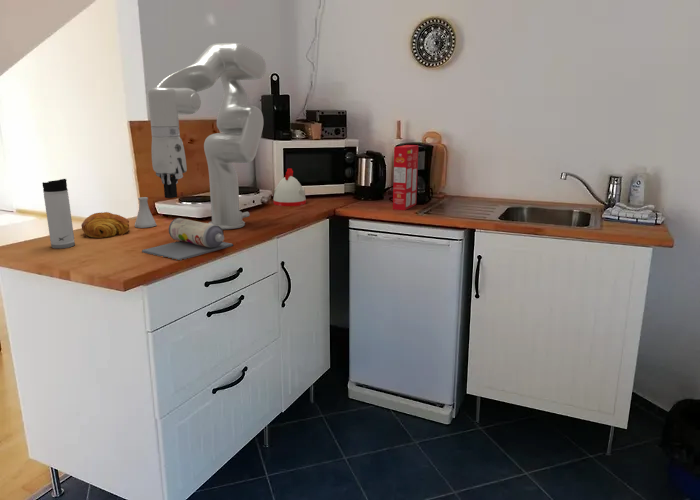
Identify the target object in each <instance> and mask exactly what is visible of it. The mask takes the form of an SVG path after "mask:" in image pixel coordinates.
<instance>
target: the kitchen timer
mask: <svg viewBox="0 0 700 500" xmlns="http://www.w3.org/2000/svg"><path fill="white" fill-rule="evenodd" d="M286 170H287V171H286V172H285V174H284V177H283V178H281V179H280V181H279V182H278V184H277V185H276V187H274V190H273V199H272V200H273V205H274V206H279V207H297V206H303V205H306V204H307V200H306V199H307V198H306V191H305V187H304V186H302V184H301V183H300V181H298V179H297V178H296V177H294V170H293V168H289V167H288V168H287V169H286Z"/></svg>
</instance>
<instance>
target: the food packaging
mask: <svg viewBox="0 0 700 500" xmlns="http://www.w3.org/2000/svg"><path fill="white" fill-rule="evenodd" d="M418 163H419V144H417V145H416V144H405V145H400V146H399V145H398V146H394V149H393V182H392V183H393V185H392V188H393V189H392V210H395V211H397V210H398V211H406V210H410V209H411V208H413V207H414V206H416V205H417V196H418V195H417V194H418V193H417V192H418V168H419V164H418Z"/></svg>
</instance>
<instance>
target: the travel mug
mask: <svg viewBox="0 0 700 500" xmlns="http://www.w3.org/2000/svg"><path fill="white" fill-rule="evenodd" d="M41 184H42V189H43V190H42V191H43V198H44V206H45V212H46V220H47V225H48V234H49V239H50V247H51V248H52V249H59V250H60V249H67V248H71V247H74V246H76V245H75V244H76V242H75V234H74V233H75V232H74V228H73V221H72V220H73V219H72V212H71V211H72V210H71V204H70V199H69V198H70V197H69V192H68V191H69V189H68V184H67V178H62V179H61V178H60V179H55V180H50V181H47V182H46V181H45V182H44V181H43V182H42V183H41Z"/></svg>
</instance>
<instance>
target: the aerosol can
mask: <svg viewBox="0 0 700 500" xmlns="http://www.w3.org/2000/svg"><path fill="white" fill-rule="evenodd" d="M208 223H209V222H208ZM208 223H207V222H201V221H196V220H192V219H188V218H187V219H186V218H181V217H177V218H174V219H172V221H171V222H170V224H169V225H168V234H169V235H170V237H171V239H173V240H174V241H183V242H187V243H192V244H196V245H200V246H205V247H209V248H216V247H218V246H219V245H220V244H221V243H222V242H224V240H225V236H224V231H223V230H222V229H221V227H219V226H217V225H213V224H208Z"/></svg>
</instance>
